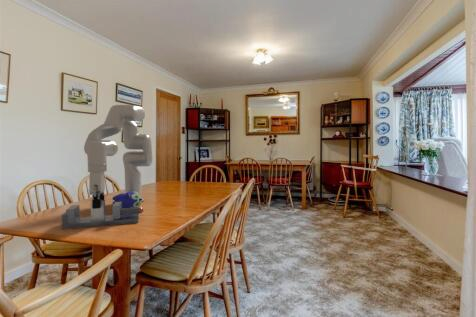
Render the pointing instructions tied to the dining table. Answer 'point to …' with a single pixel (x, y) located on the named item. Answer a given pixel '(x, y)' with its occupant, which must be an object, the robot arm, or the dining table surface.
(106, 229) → the dining table surface
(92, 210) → the steel block
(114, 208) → the sliding jaw
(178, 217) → the dining table surface
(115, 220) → the vise
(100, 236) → the dining table surface
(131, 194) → the toy
